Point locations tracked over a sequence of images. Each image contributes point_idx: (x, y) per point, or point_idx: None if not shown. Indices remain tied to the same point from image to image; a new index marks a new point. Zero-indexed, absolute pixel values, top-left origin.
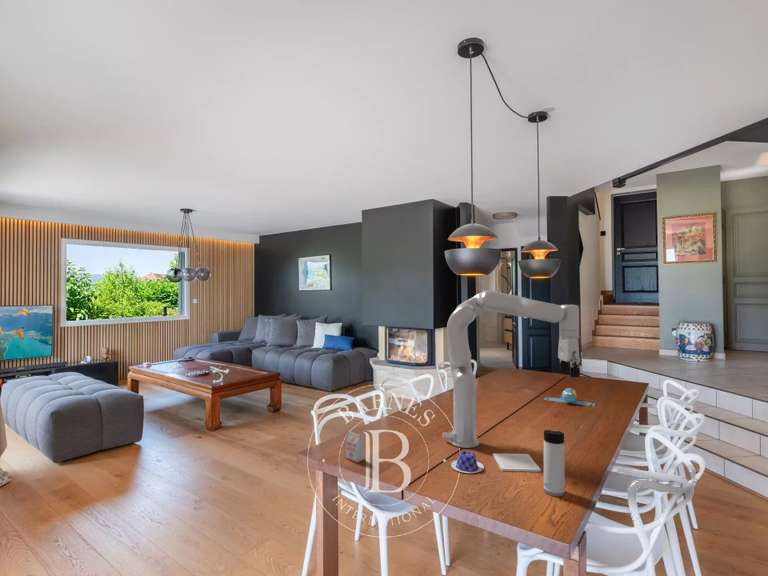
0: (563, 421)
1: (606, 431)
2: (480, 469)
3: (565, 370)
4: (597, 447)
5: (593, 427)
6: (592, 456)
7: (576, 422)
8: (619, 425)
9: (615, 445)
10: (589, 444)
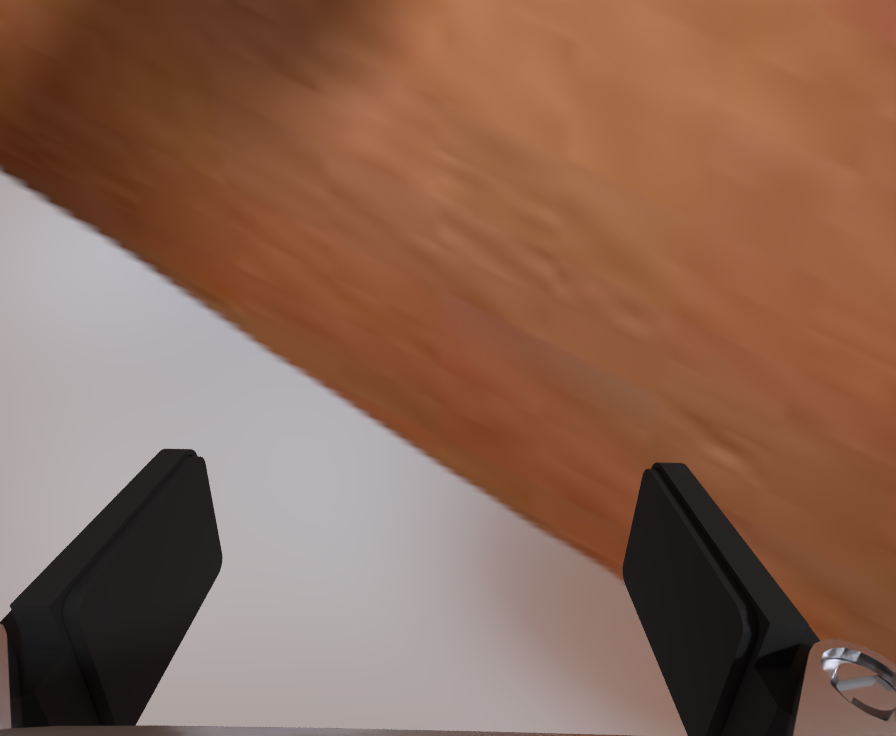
0: (826, 409)
1: None
2: None
3: (643, 565)
4: (440, 393)
5: None
6: (327, 315)
7: (790, 465)
8: None
9: (463, 479)
10: (479, 377)
